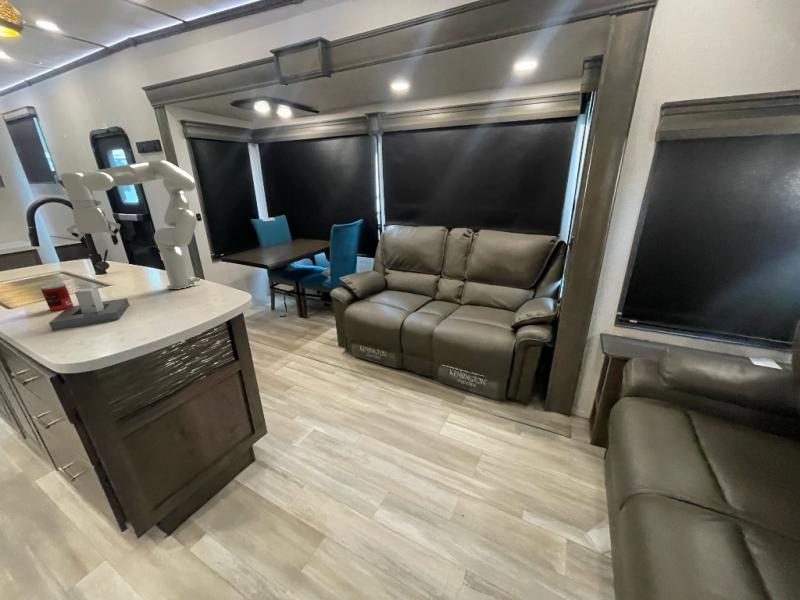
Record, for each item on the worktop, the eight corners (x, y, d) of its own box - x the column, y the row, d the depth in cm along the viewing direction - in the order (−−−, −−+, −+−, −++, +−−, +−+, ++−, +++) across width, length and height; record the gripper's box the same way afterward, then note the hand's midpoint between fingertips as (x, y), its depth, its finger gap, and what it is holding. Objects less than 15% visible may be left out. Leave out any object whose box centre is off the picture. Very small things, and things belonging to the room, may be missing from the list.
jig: (129, 305, 147) (127, 298, 146) (118, 319, 130) (115, 311, 129) (72, 314, 138) (68, 306, 137) (52, 331, 121) (48, 322, 120)
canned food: (72, 304, 151) (63, 282, 147) (75, 307, 146) (65, 284, 142) (49, 308, 145) (39, 286, 141) (51, 312, 140) (40, 289, 136)
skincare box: (83, 319, 132) (72, 291, 128) (92, 315, 136) (81, 288, 132) (100, 318, 133) (89, 290, 128) (107, 314, 137) (97, 287, 133)
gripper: (113, 202, 137) (128, 241, 144) (60, 206, 129) (78, 247, 136) (109, 203, 131) (125, 244, 137) (53, 207, 123) (72, 250, 130)
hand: (101, 245), depth 137 cm, fingers open, 9 cm apart
